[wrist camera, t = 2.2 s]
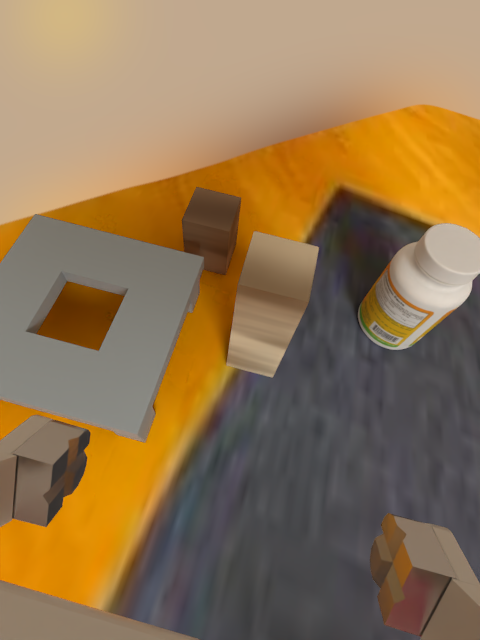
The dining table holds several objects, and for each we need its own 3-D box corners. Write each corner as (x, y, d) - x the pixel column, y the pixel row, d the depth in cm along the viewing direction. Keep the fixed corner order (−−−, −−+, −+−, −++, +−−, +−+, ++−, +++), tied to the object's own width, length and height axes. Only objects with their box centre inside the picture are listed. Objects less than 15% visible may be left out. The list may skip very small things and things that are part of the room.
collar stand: (56, 252, 32) (35, 214, 28) (203, 290, 31) (204, 257, 27) (-36, 397, 25) (-79, 374, 21) (147, 448, 25) (137, 434, 21)
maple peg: (237, 324, 30) (254, 230, 20) (281, 336, 30) (318, 247, 20) (226, 365, 28) (237, 284, 18) (272, 377, 28) (308, 302, 18)
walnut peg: (197, 234, 34) (196, 186, 29) (235, 243, 34) (241, 197, 29) (185, 264, 32) (181, 219, 27) (225, 275, 32) (229, 231, 27)
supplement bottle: (407, 293, 33) (479, 213, 24) (428, 349, 30) (516, 282, 22) (349, 295, 32) (401, 214, 24) (365, 353, 30) (431, 285, 21)
